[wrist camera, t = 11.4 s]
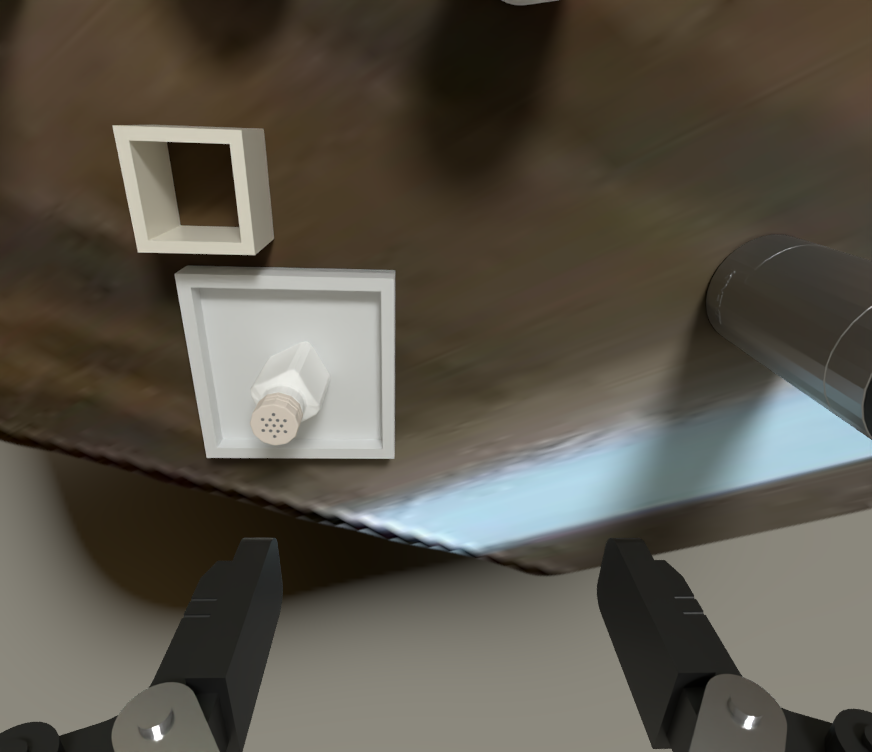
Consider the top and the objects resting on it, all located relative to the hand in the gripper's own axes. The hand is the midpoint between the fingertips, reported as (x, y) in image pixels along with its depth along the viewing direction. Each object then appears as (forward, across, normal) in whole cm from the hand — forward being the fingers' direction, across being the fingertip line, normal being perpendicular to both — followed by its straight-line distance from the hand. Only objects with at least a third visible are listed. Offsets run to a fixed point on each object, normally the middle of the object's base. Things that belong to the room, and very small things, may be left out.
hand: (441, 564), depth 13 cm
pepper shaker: (+31, +10, +9) cm, 34 cm away
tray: (+32, +10, +9) cm, 35 cm away
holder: (+32, +15, -5) cm, 36 cm away
